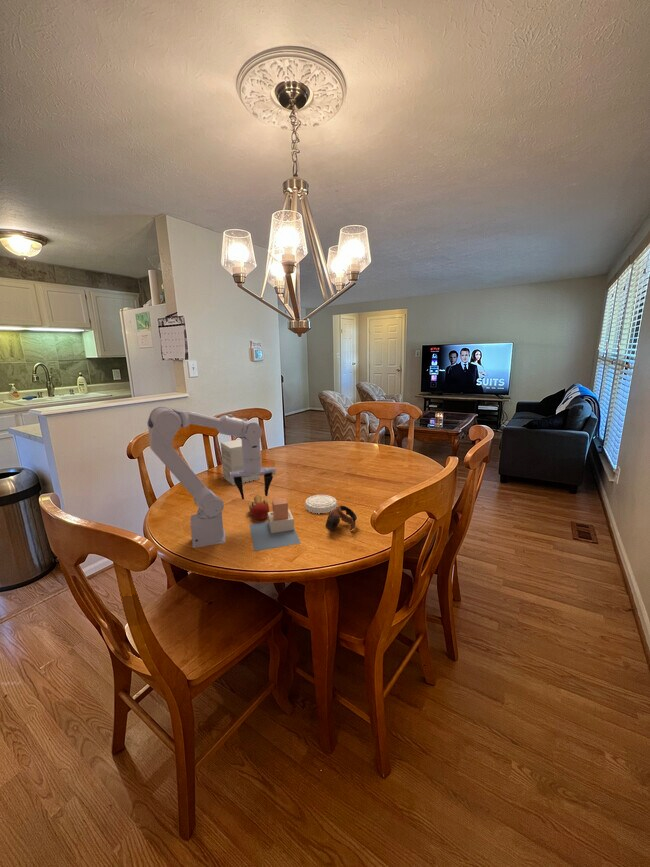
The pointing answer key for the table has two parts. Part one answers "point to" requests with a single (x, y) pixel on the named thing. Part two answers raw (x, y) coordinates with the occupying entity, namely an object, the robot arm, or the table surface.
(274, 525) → the base block
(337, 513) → the brown looped piece
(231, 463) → the supplement box
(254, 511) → the kendama
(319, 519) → the table surface
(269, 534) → the mat
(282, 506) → the terracotta block
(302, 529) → the table surface
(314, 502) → the mooncake
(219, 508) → the robot arm
